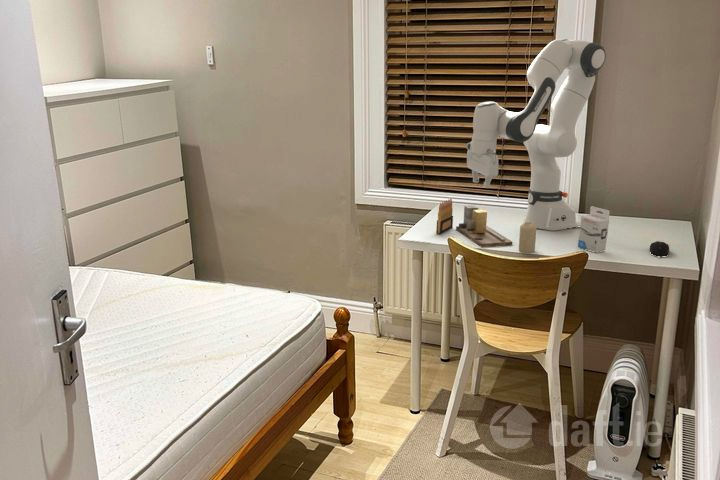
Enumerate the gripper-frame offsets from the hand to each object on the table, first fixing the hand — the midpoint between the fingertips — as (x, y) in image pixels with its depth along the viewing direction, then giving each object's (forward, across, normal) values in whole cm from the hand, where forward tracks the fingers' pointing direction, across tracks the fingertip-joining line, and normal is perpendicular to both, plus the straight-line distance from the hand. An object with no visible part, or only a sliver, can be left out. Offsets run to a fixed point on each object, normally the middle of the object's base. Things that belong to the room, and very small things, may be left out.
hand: (481, 185), depth 252 cm
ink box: (+19, -25, -32) cm, 45 cm away
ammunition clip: (+20, +9, +10) cm, 24 cm away
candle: (+20, -21, -9) cm, 30 cm away
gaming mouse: (+19, -34, -53) cm, 66 cm away
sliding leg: (+18, 0, +1) cm, 18 cm away
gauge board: (+19, -2, -1) cm, 19 cm away
